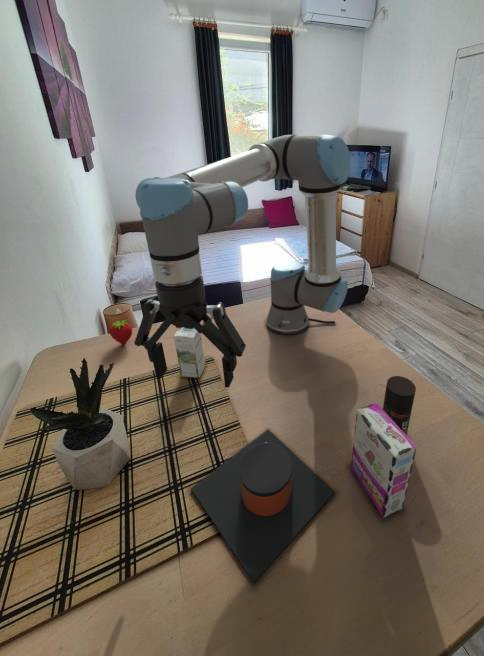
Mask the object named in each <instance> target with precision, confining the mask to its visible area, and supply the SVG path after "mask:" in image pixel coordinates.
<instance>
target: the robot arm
mask: <svg viewBox="0 0 484 656" xmlns="http://www.w3.org/2000/svg"><path fill="white" fill-rule="evenodd" d="M350 169H351V157H350V151H349V147H348V145H347V144H346V142H345V140H344V139H343V138H342V137H341V136H339V135H332V134H326V133H325V134H324V133H323V134H285V135H280V136H277V137H274V138H270V139H268V140H264V141H262V142H258V143H255V144H253V145H251V146H250V147H249V149H247V151H245V152H241V153H238V154H235V155H233V156H229V157H225V158H223V159H219V160H217V161H214V162H211V163H208V164H205V165H201V166H198V167H195V168H193V169H189V170H186V171H182V172H181V173H176V174H173V175H170V176H167V177H158V176H153V177H147V178H144V179H142V180H141V181H140V182H139V183H138V185H137V186H136V189H135V201H136V205H137V206H138V208H139V214H140V218H141V221H142V225H143V230H144V235H145V239H146V245H147V249H148V253H149V259H150V265H151V269H152V274H153V275H152V276H153V279H154V280H155V282H154V286H155V291H156V296H157V298H156V297H155V296H151V297H150V298H149V299H148V300H146V301H145V302H144V303H143V304H142V311H143V312H142V313H143V315H142V318H141V322H140V325H139V328H138V331H137V334H136V337H135V340H134V345H135V346H136V347H141V346H142V347H144V349H145V350H146V353H147V357H148V360H149V362H150V363H152V364H153V369H154V374H155V378H156V380H161V379H162V378H163V377H164V376H165V374H166V373H167V371H168V366H167V361H166V356H165V351H164V345H163V342H159V340H160V339H161V337H162V336H164V334H165V332H167V330H168V329H169V328H170V327H171V326H173V327H175V328H176V329H179V328H183V327H184V328H187V329H193V328H194V329H196V330H197V331H198V332H199V333H201V335H204V337H205V338H206V339H207V340H208V341H209V342H210V343H211V344H212V345H213V346H214V347H215V348H216V349H217V350H218V351H219V352H220V353H221V354H222V355H223V356H222V358H221V364H222V374H223V381H224V382H223V383H224V388H227V389H228V388H229V389H230V386H231V384H232V383H233V380H234V377H235V376H234V372H235V369H236V368H237V365H238V362H237V361H238V359H237V357H238V358H240V357H242V356H243V354H244V351H245V349H246V347H247V344H246V342H245V341H244V340H243V339H242V337H241V335H240V334H239V332H238V330H237V329H236V327H235V325H234V324H233V322H232V321H231V319H230V318H229V316H228V315H227V311H226V307H225V303H223V302H221V301H219V302H218V303H217V304H216V305H215V304H214V305H212V304H211V305H208V303H207V301H206V291H205V284H204V283H205V282H204V277H203V275H202V274H203V266H202V260H201V254H200V242H199V236H201V235H204V234H206V233H210V232H212V231H216V230H218V229H222V228H225V227H227V226H228V227H229V226H232V225H233V224H235V223H237V222H239V221H241V220H243V219H244V218H245V217H246V216H247V213H248V210H249V198H248V195H247V192H246V191H245V189H244V188H245V187H247V186H249V185H252V184H254V183H256V182H269V181H270V180H274V179H275V180H289V181H290V180H292V181H297V182H298V191H299V192H300V193H301V194H302V195H304V209H305V225H306V226H305V227H306V241H307V242H306V245H307V246H306V247H307V261H308V263H307V264H308V267H307V268H306V266H305V264H304V263H303V262H300V261H285V262H280V263H278V264H276V265H274V266H273V267H272V268H271V270H270V277H269V280H270V300H271V303H270V307H269V310H268V313H267V316H266V326H267V328H268V329H269V330H270V331H272V332H274V333H276V334H280V335H295V334H299V333H302V332H303V331H305V330H306V329H307V327H308V326H309V322H313V323H314V322H315V323H320V324H328V325H329V324H333V325H334V324H336V321H335V320H323V319H322V320H321V319H316V318H310V317H309V316H308V314H307V310H306V307H307V308H312V309H314V310H318V311H321V312H322V313H325V312H326V313H330V314H335V313H336V312H338V311H339V310H340V308H341V307H342V305H343V303H344V301H345V299H346V296H347V293H348V287H349V282H348V281H347V279H345V278H342V271H341V269H340V268H339V267H338V266H337V193H338V192H339V191H340V190H341V189H342V184H345V183H346V182H347V181H348V178H349V175H350V172H349V171H350ZM158 312H160V313H161V314H162V315H163V316H164V318H165V319H164V320H163V322H162V323H161V324H160V326H159V327H158V328H157V329H156V331H155V332H154V333H153V335H152V336H149V335H150V332H151V330H152V327H153V325H154V322H155V319H156V315H157V313H158ZM213 321H214V322H213ZM201 322H203V323H201Z"/></svg>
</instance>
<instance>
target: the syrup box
mask: <svg viewBox="0 0 484 656" xmlns="http://www.w3.org/2000/svg"><path fill="white" fill-rule="evenodd" d="M173 340H174V345H175V351H176V358H177V362H178V368H179V374H180V377H181V378H193V379H199V378H200V377H201V376H202V373H203V372H204V370H205V367H206V359H205V353H204V345H203V337H202V333H199V332H198V331H197V330H196V329H194V328H193V329H187V328H184V327H183V328H177V330H176V332H175V333H174V334H173Z"/></svg>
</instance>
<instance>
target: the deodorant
mask: <svg viewBox="0 0 484 656" xmlns="http://www.w3.org/2000/svg"><path fill="white" fill-rule="evenodd" d="M416 387H417V386H416V385H415V383H414V382H413V381H412V380H410V379H409V378H407V377H404V376H401V375H394V376H390V377H389V378H387V381H386V386H385V392H384V399H383V403H382V405H383V406H382V409H383V410H384V411H385V412H386V414H387V415H388V416H389V417H390V418H391V419H392V420H393V421H394V422H395V424H396V425H397V426H398V427H399V428H400V429H401V430H402V431H403V433H404V434H405V435H406V436H407V437H408V430H409V426H410V420H411V415H412V411H413V406H414V401H415V397H416V390H417V388H416Z"/></svg>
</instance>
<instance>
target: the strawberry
mask: <svg viewBox="0 0 484 656" xmlns="http://www.w3.org/2000/svg"><path fill="white" fill-rule="evenodd" d="M111 324H112V325H110V326H109V328H108V333H109V335H110V336H111V338H112V339H113V340H115V341H116V342H117V343H119V344H121V345H122V346H125V345H126V344H127V343H128V341H130V339H131V337H132V335H133V327H132V325H131V324H130V323H129V322H127V319H125V320H122V321H120V320H117V321H116V322H111Z"/></svg>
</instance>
